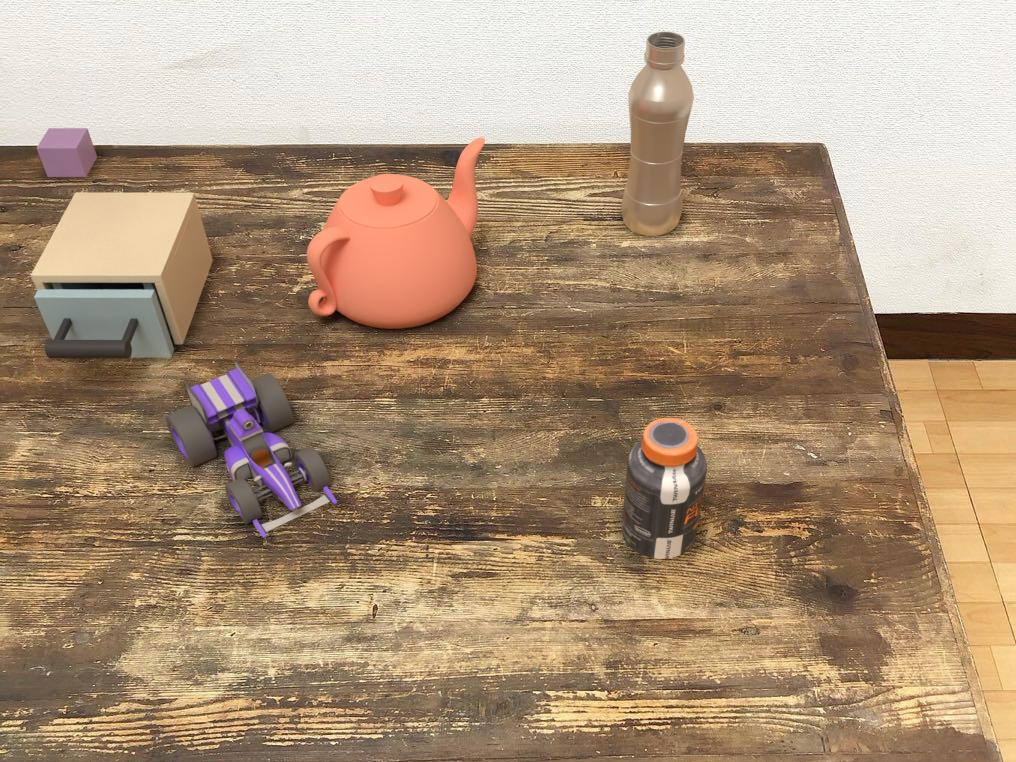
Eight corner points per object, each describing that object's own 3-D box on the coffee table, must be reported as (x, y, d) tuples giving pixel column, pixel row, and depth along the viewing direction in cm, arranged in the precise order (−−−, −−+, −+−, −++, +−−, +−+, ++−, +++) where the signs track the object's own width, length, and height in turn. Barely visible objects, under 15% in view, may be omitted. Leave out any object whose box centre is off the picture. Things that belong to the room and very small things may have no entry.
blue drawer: (159, 392, 96) (137, 331, 91) (43, 392, 96) (15, 331, 91) (200, 278, 107) (183, 218, 102) (97, 278, 108) (75, 218, 102)
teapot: (443, 217, 116) (434, 106, 107) (540, 279, 109) (540, 166, 99) (272, 300, 106) (245, 187, 97) (365, 375, 99) (347, 260, 89)
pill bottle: (692, 570, 83) (709, 467, 75) (617, 561, 84) (625, 458, 75) (697, 514, 87) (714, 411, 79) (625, 506, 88) (633, 402, 79)
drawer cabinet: (185, 352, 101) (160, 275, 95) (63, 351, 101) (30, 275, 95) (215, 267, 110) (194, 192, 104) (102, 267, 110) (75, 192, 104)
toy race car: (248, 554, 85) (230, 497, 80) (174, 447, 93) (153, 389, 88) (355, 502, 88) (343, 445, 83) (274, 404, 96) (259, 346, 91)
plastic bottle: (687, 217, 116) (708, 29, 101) (671, 251, 112) (691, 60, 97) (629, 206, 117) (642, 20, 102) (612, 240, 113) (622, 50, 98)
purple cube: (50, 184, 121) (36, 148, 118) (61, 164, 124) (48, 128, 120) (89, 184, 121) (76, 148, 117) (99, 164, 124) (87, 127, 120)
